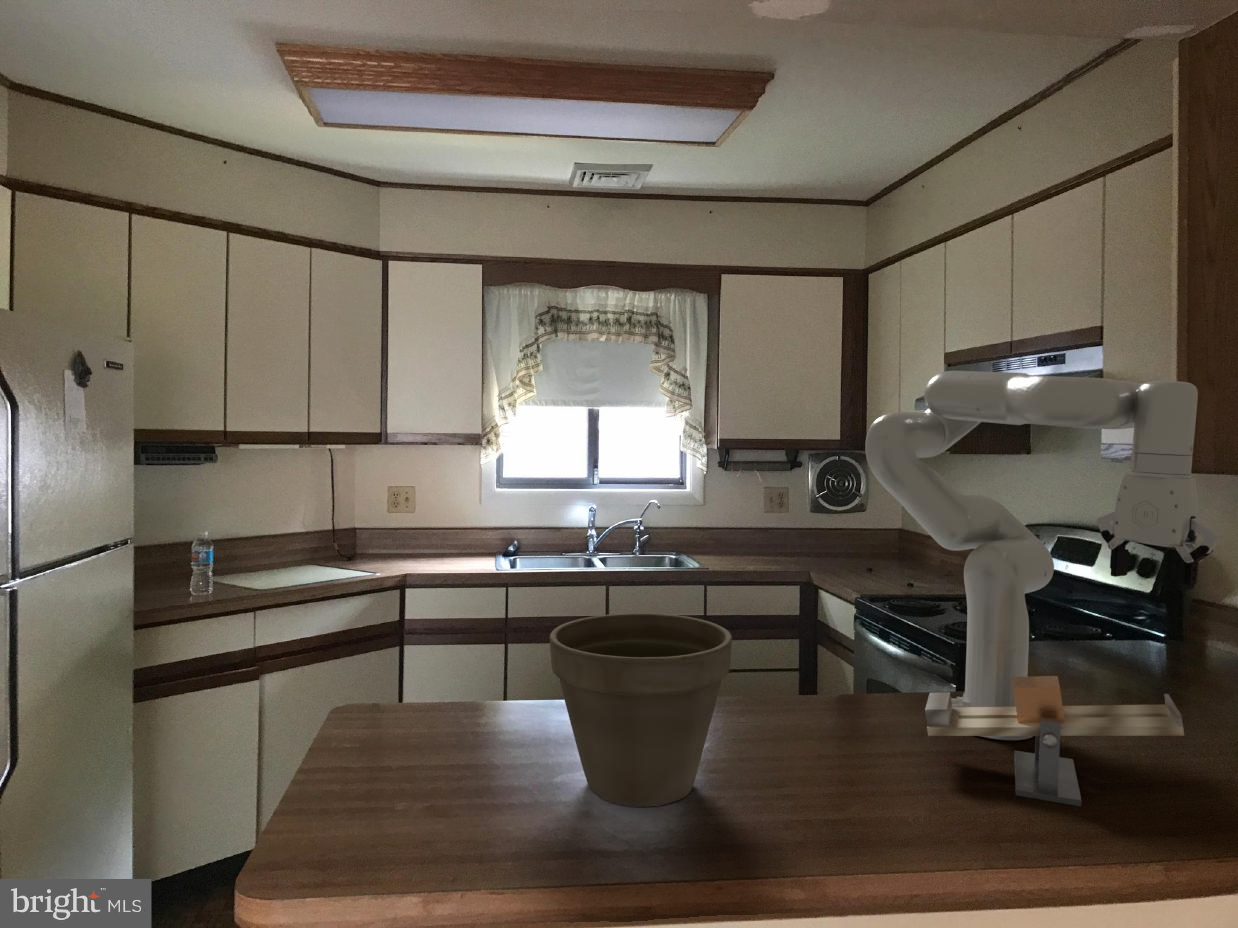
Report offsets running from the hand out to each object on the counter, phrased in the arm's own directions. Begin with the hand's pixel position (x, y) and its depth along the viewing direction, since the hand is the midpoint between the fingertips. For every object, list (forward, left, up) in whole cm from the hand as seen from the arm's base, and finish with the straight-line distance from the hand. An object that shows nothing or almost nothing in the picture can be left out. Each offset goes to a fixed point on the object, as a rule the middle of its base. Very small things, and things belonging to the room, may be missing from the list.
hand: (1150, 582), depth 128 cm
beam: (-13, -10, -20) cm, 26 cm away
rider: (-14, -10, -20) cm, 27 cm away
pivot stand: (-13, -10, -28) cm, 33 cm away
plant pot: (-65, -38, -28) cm, 81 cm away
